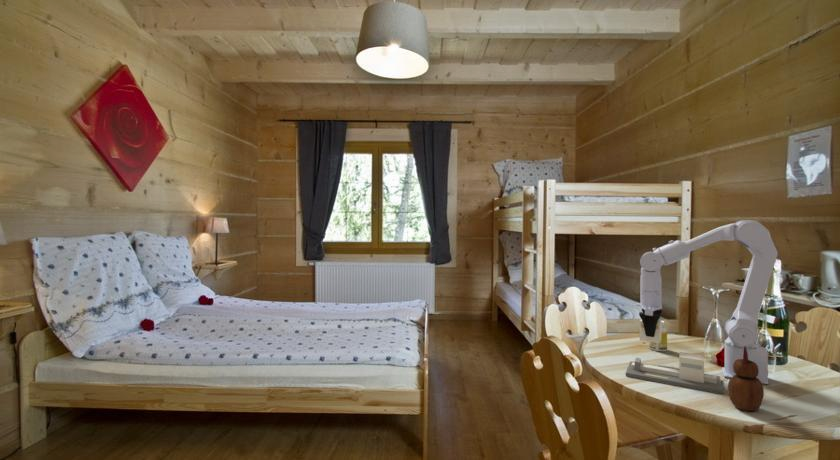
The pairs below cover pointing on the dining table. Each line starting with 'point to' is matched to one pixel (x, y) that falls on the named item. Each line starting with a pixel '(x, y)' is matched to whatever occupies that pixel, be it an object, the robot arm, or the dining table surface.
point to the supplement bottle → (663, 344)
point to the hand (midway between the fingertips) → (650, 334)
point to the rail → (678, 373)
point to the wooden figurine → (745, 385)
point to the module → (656, 337)
